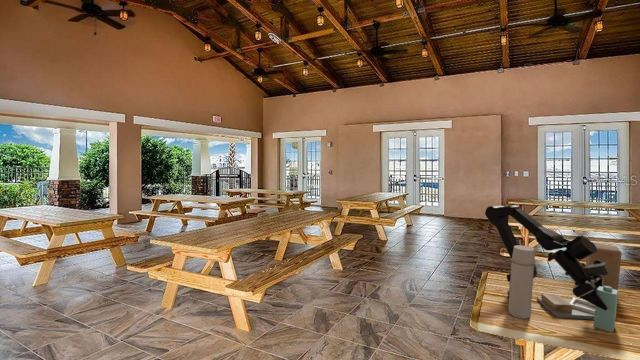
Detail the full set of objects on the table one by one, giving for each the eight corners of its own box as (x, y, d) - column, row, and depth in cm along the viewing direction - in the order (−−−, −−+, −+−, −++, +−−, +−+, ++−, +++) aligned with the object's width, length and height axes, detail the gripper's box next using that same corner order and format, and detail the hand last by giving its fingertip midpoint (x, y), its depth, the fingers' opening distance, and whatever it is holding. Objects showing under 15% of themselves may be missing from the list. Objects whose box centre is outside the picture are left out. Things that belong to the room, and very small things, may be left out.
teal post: (593, 326, 117) (597, 287, 116) (595, 321, 121) (599, 283, 119) (612, 332, 114) (616, 291, 112) (614, 326, 117) (618, 287, 116)
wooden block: (617, 299, 138) (622, 251, 136) (586, 294, 143) (590, 247, 141) (612, 291, 147) (617, 245, 145) (583, 285, 152) (587, 241, 150)
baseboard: (557, 317, 123) (557, 310, 123) (537, 299, 137) (537, 294, 137) (616, 320, 121) (617, 314, 121) (589, 302, 135) (590, 296, 135)
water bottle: (534, 321, 120) (539, 251, 118) (509, 318, 123) (514, 249, 120) (527, 309, 129) (531, 244, 127) (503, 306, 131) (507, 242, 129)
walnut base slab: (554, 310, 126) (554, 304, 126) (541, 299, 135) (541, 293, 134) (571, 311, 125) (572, 305, 125) (557, 300, 134) (558, 294, 134)
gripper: (587, 259, 112) (629, 303, 105) (597, 248, 125) (635, 286, 118) (557, 276, 118) (595, 318, 111) (569, 263, 131) (604, 301, 124)
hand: (608, 305), depth 116 cm, fingers open, 9 cm apart
